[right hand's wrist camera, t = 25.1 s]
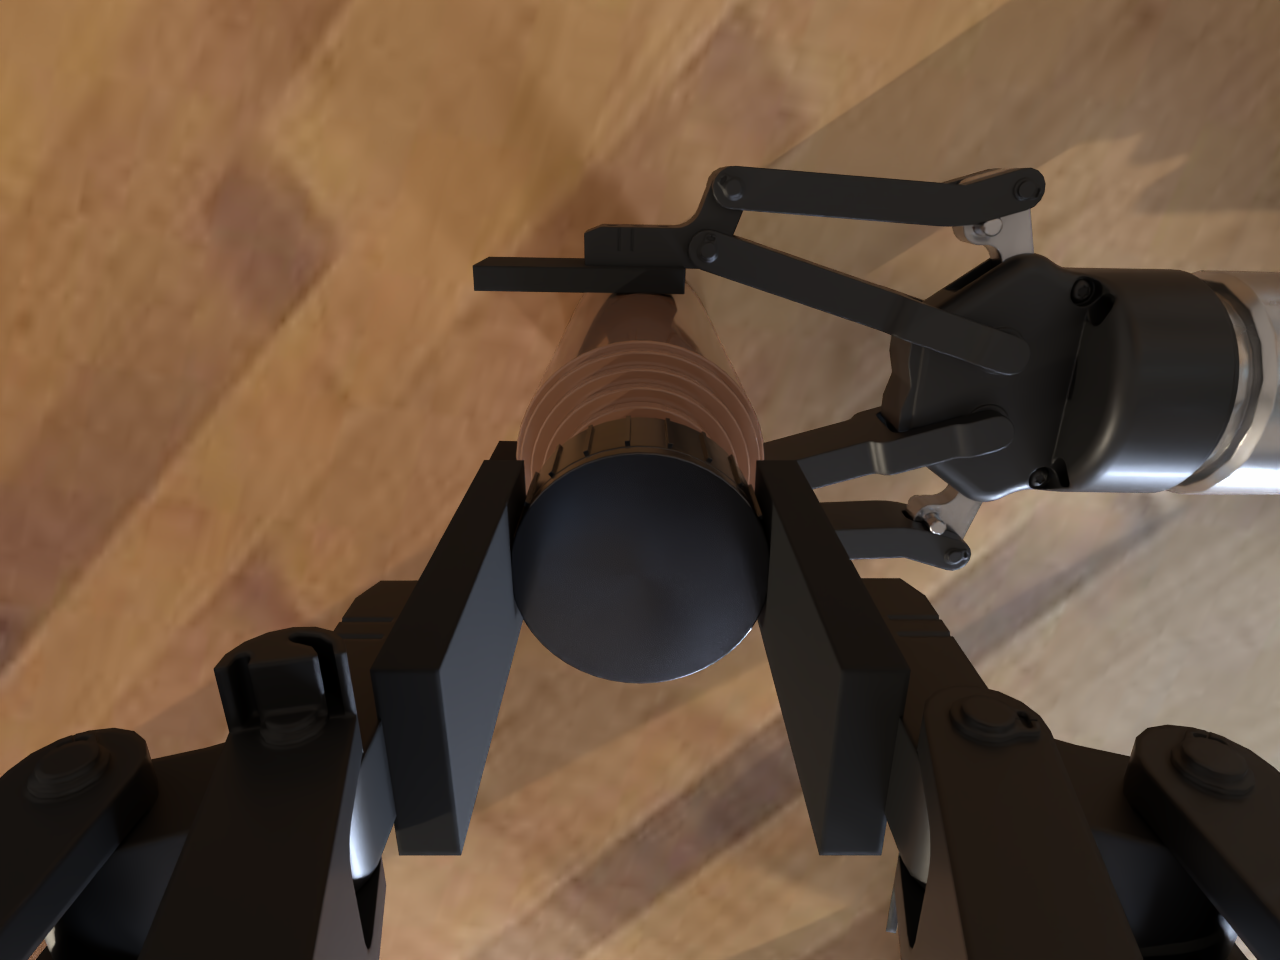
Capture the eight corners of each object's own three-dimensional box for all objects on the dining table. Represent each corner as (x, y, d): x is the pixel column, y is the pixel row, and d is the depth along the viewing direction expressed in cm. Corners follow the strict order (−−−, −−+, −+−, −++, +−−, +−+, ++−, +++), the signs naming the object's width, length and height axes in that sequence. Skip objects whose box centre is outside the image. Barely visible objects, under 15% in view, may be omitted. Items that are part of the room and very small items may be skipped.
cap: (796, 465, 14) (820, 506, 12) (701, 654, 16) (709, 716, 14) (569, 377, 14) (558, 409, 12) (493, 584, 15) (473, 639, 13)
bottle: (711, 400, 33) (798, 677, 15) (577, 407, 33) (500, 692, 15) (707, 261, 31) (806, 385, 13) (564, 269, 31) (455, 405, 13)
